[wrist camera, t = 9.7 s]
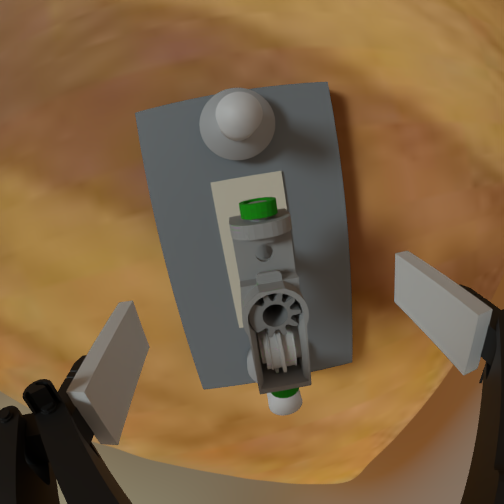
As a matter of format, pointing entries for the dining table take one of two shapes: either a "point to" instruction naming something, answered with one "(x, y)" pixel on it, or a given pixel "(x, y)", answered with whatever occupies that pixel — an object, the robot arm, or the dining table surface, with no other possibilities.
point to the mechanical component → (271, 297)
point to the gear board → (227, 205)
